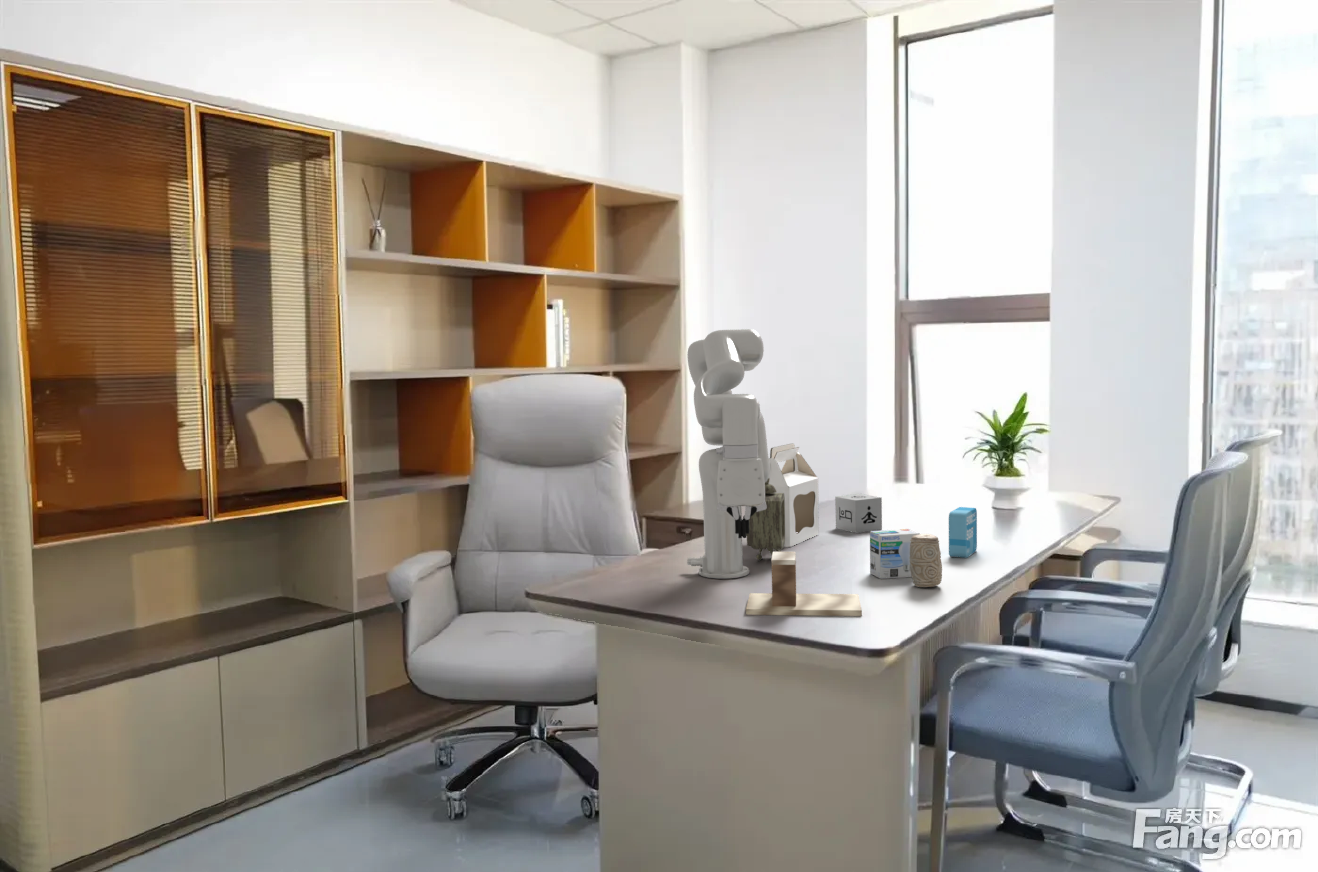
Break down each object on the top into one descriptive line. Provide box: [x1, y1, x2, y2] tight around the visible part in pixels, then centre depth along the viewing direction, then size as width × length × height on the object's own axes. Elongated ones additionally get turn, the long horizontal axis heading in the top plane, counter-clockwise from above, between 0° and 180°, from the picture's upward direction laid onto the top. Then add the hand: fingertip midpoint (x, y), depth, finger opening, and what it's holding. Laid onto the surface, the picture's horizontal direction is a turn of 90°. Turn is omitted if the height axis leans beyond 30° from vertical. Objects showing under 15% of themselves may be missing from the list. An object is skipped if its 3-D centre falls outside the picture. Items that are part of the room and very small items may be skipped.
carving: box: [909, 533, 943, 588], centre depth 229 cm, size 6×8×12 cm
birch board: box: [745, 592, 863, 617], centre depth 214 cm, size 24×14×1 cm, turn 81°
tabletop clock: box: [746, 480, 785, 561], centre depth 263 cm, size 14×9×25 cm, turn 168°
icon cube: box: [834, 493, 883, 534], centre depth 306 cm, size 10×10×10 cm
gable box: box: [768, 443, 820, 548], centre depth 292 cm, size 22×13×28 cm, turn 149°
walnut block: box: [770, 551, 797, 607], centre depth 214 cm, size 5×9×10 cm, turn 172°
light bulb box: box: [869, 528, 921, 580], centre depth 242 cm, size 11×7×11 cm, turn 101°
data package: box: [948, 506, 978, 559], centre depth 265 cm, size 12×4×12 cm, turn 149°
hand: (742, 537), depth 214 cm, fingers closed
